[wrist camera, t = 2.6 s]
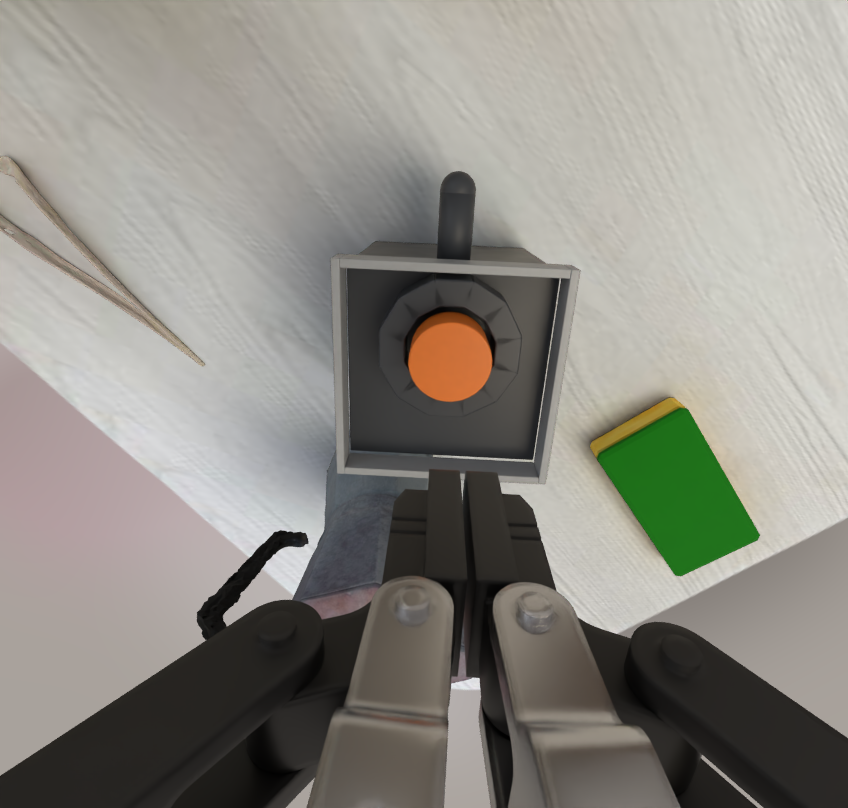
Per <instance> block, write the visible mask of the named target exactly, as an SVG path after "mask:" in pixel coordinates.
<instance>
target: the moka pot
mask: <svg viewBox="0 0 848 808" xmlns="http://www.w3.org/2000/svg"><path fill="white" fill-rule="evenodd" d="M349 452H350V453H362V454H381V455H400V456H419V457H433V455H432V454H413V453H393V452H374V451H355V450H351V449H350V437H349ZM405 489H415V490H428V478H414V477H395V476H376V475H357V474H345V473H344V474H338V473H337V455H336V451H335V453H334V455H333V457H332V460H331V463H330V466H329V468H328V470H327V481H326V507H325V527H324V528H325V530H324V532H323V534H322V536H321V538H320V540H319V542H318V546H317V548H316V550H315V552H314V553H313V555H312V557H311V559H310V561H309V564H308V566H307V569H306V571H305V573H304V575H303V577H302V580H301V582H300V584H299V586H298V588H297V591H296V593H295V595H294V597H293V599H292V600H296V601H300V602H303V603H306V604H308V605H310V606H311V607H313V608H314V609H315V610H316V611H317V612H318V613H319V615H320V617H321V619H326V618H331V617H336V616H340V615H344V614H348V613H351V612H354V611H356V610H358V609H360V608H362V607H364V606H365V605H366V604H368V603H369V602H370V601H371V600H372V598H373V596H374V594H375V593H376V591H377V590H378V589H379V588H380V587H381V584H382V579H383V573H384V566H385V559H386V553H387V546H388V539H389V533H390V526H391V520H392V513H393V506H394V501H395V500H396V499H397V498H398V497H399V496H400V494H401V493H402V492H403V491H404V490H405ZM305 544H308V538H307V535H306V533H302V532H296V533H293V532H286V531H281V530H280V531H278V532H274V533H273V535H272V536H271V537H270V538H269V539H268V540H267V541H266V542H265V543H264V544H262V545H261V546H260V547H259V548H258V549H257V550H256V551H255V553H254V554H253V555H252V556H251V557H250V558H249V559H248V560H247V561H246V562H245V563H244V564H243V565H242V566H241V567H240V568H239V569H238V572H236V573H234V574H233V575H232V576H231V577H230V578H229V579H228V581H227V582H226V583H225V584H224V585H223V586H222V587H221V588H220V589H219V590H218V592H217V593H216V594H215V595H213V596H211V597H209V598H208V601H206V602H204V604H203V606H202V608H201V610H199V611H198V612H197V623H198V625H199V626H200V628H201V629H202V630H203V631H202V635H203V637H204V638H205V640H208V639H209V638H211V637H212V636H214V635H215V634H217V633H219V632H220V631H222V630H223V629H225V628H226V627H227V626H226V624H225V622H224V621H223V614H224V613H225V612H226V611H227V610H228V609H229V608H230V607H232V606H233V605H234V603H236V602H238V600H239V598H240V593H241V592H243V591H244V590H245V589H246V588H247V587H248V585H249V584H250V583H251V581H252V580H253V579H254V578H255V577H256V575H257V574H258V573H259V572H260V571H261V569H262V568H263V567H264V565H265V564H266V561H268V560H269V559H270V558H271V557H272V556H273V554H276V552H277V551H279V550H280V549H282V548H284V547H288V546H293V547H303V546H304V545H305ZM471 678H472V677H466V665H465V646H464V627H463V629H462V640H461V650H460V660H459V670H458V677H453V676H452V679H451V683H455V682H460V681H464V680H468V679H471Z"/></svg>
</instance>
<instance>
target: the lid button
mask: <svg viewBox="0 0 848 808" xmlns="http://www.w3.org/2000/svg"><path fill="white" fill-rule="evenodd" d="M408 367H409V372H410V375H411V377H412V380H413V381H414V383H415V385H416V386H417V387H418V388H419V389H420V390H421V391H422V392H423V393H424V394H426V395H427V396H429V397H431V398H433V399H436V400H440V401H446V402H454V401H460V400H464V399H466V398H469V397H471V396H472V395H474V394H475V393H477V392H478V391H479V390H480V389H481V388H482V387H483V386H484V385H485V383H486V382H487V380H488V378H489V376H490V373H491V369H492V354H491V350H490V346H489V343H488V340H487V337H486V335H485V332H484V331H483V329H482V327H481V326H480V325H479V324H478V323H477V322H476V321H475V320H474V319H472V318H471V317H469V316H467V315H465V314H462V313H458V312H442V313H438V314H435V315H433V316H431V317H429V318H427V319H426V320H425V321H424V322H423V323H422V324H421V325H420V326H419V327H418V328H417V330H416V332H415V333H414V336H413V338H412V342H411V347H410V352H409V358H408Z"/></svg>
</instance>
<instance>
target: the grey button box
mask: <svg viewBox="0 0 848 808" xmlns="http://www.w3.org/2000/svg"><path fill="white" fill-rule="evenodd" d="M437 246H438V244H424V243H403V242H381V241H375V242H374V243H373V244H372V245H370V246H369V247H368V248H366V249H365V250H364V251H362V252H361V253H360V254H358V255H371V256H392V257H413V258H434V259H437ZM470 260H476V261H497V262H518V263H539V264H546V263H545V262H543V261H542V260H540V259H539V258H537V257H536V256H534V255H533V254H531V253H530V252H528V251H527V250H525V249H524V248H508V247H487V246H471V258H470ZM559 280H560V278H542V277H521V276H500V275H480V274H455V273H438V272H417V271H396V270H375V269H355V268H347V288H348V342H349V397H350V449H351V450H355V451H374V452H393V453H413V454H432V455H451V456H470V457H489V458H508V459H527V460H533V456H534V449H535V442H536V435H537V428H538V422H539V415H540V408H541V401H542V395H543V388H544V381H545V374H546V368H547V361H548V354H549V347H550V341H551V334H552V327H553V320H554V313H555V307H556V300H557V293H558V286H559ZM442 312H458V313H462V314H465V315H467V316H469V317H471V318H472V319H474V320H475V321H476V322H477V323H478V324H479V325H480V326H481V327H482V329H483V331H484V332H485V335H486V337H487V340H488V343H489V346H490V350H491V354H492V369H491V373H490V376H489V378H488V380H487V382H486V383H485V385H484V386H483V387H482V388H481V389H480V390H479V391H478V392H477V393H475V394H474V395H472V396H471V397H469V398H466V399H464V400H460V401H454V402H446V401H440V400H436V399H433V398H431V397H429V396H427V395H426V394H424V393H423V392H422V391H421V390H420V389H419V388H418V387H417V386H416V385H415V383H414V381H413V380H412V377H411V375H410V372H409V367H408V358H409V352H410V347H411V342H412V338H413V336H414V333H415V332H416V330H417V328H418V327H419V326H420V325H421V324H422V323H423V322H424V321H425V320H426V319H427V318H429V317H431V316H433V315H435V314H438V313H442Z"/></svg>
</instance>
